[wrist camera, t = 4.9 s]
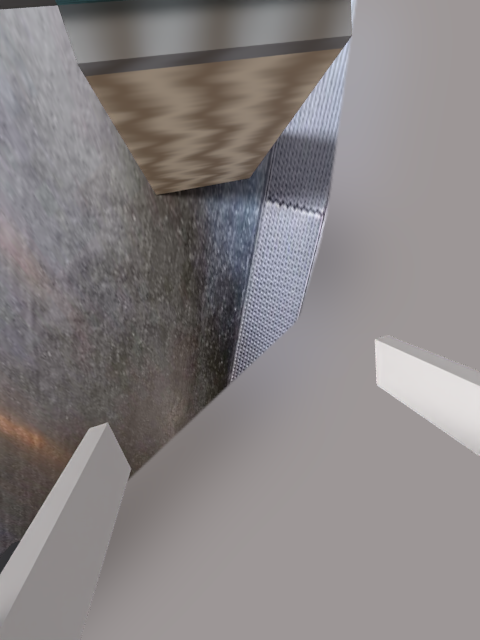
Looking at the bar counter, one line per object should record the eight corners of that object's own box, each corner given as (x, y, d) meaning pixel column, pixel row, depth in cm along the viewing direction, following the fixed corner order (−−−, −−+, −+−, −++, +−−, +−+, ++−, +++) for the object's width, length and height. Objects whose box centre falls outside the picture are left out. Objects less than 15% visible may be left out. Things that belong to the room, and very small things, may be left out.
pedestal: (156, 194, 41) (77, 63, 13) (141, 144, 39) (6, -151, 11) (249, 178, 44) (351, 35, 15) (241, 129, 41) (344, -147, 13)
